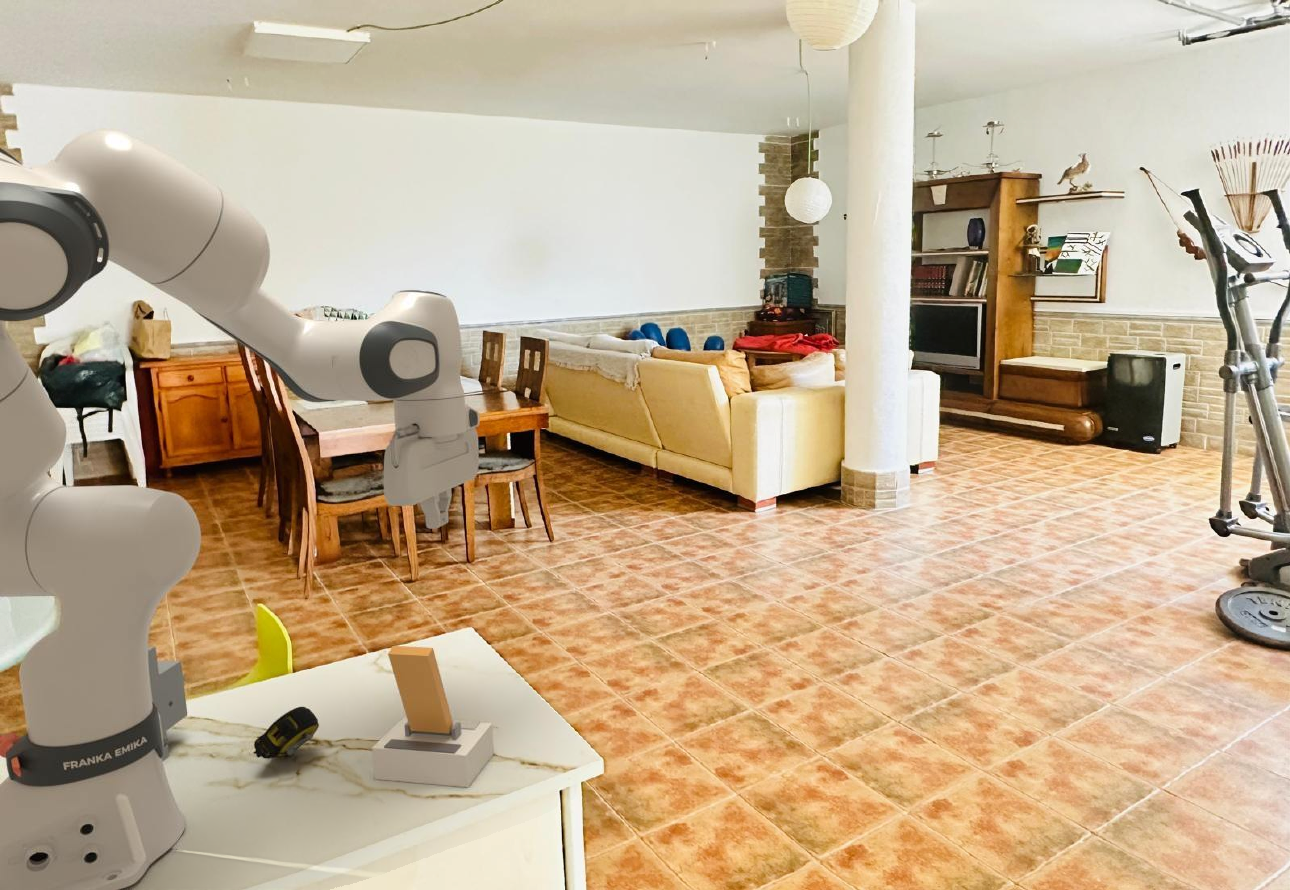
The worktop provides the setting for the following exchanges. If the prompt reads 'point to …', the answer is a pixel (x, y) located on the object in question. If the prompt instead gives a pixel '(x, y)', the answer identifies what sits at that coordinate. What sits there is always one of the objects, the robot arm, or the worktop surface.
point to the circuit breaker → (167, 692)
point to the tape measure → (287, 734)
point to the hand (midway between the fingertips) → (437, 526)
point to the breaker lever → (421, 690)
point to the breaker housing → (434, 754)
